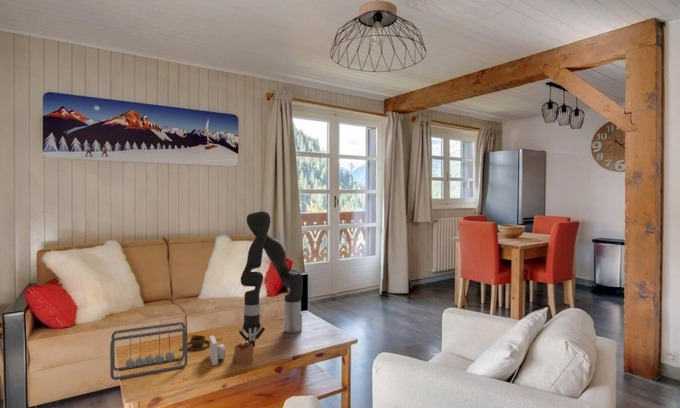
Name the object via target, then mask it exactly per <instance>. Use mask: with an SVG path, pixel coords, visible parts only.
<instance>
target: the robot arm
mask: <svg viewBox="0 0 680 408" xmlns="http://www.w3.org/2000/svg"><path fill="white" fill-rule="evenodd" d="M246 224H247V226H248V229H250V231H251V233H252V234H253V235H254V236H255V237H254V240H253V241H252V243H251V245H250V246H249V249H248V252H247V258H246V259H247V260H246V264H245V267H244V269H243V271H242V273H241V276H240V284H241V285H242V286H243V287H254V288H253V289H252V290H247V291H245V292H244V305H243V306H244V307H243V324H242V328H241V329H239V330H238V333H239V335H240V336H241V337H242V338H243V340H245V341H248V342H247V343H251V344H253V348H255V346H256V340H258V339H260V337H261V336H262V335H263V333H264V331H265V330H266V329H265V327H264V326H262V325H261V323H260V321H261V319H260V318H261V306H260V294H261V290H262V289H261V288H262V285H263V281H264V275H263V273H262V272H261V271H254V270H255V269H259V268H260V267H261V266H262V262H263V261H262V259H263V252H264V251H265V253H266V256H267V257H268V259H269V260H270V263H271V264H272V265H273V268H274V269H275V271H276V273H277V275H278V277H279V279H280V281H281V283H282V285H283V286H284V287H285V288H288V289H289V293H287V294H285V295H284V308H283V309H284V311H283V312H284V317H283V319H284V322H283V323H284V324H283V325H284V326H283V327H284V332H285V333H288V334H296V333H299V332H301V331H303V314H302V313H301V312H302V296H303V289H304V288H303V285H304V278H303V276H302V274H301V273H298V272H295V271H292V270H291V269H290V267H288V265H287V254H286V251H285V248H284V247H283V246H282V244H281V242H280V241H279V240H277V239H276V238H274V237H273V236H271V235H270V234H268V232H269V230H270V226H271V216H270V213H269V212H268V211H266V210H260V211H257V212H252V213H249V214H248V215H247V217H246ZM245 333H246V334H247V336H246V334H245Z"/></svg>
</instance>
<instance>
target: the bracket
mask: <svg viewBox="0 0 680 408" xmlns="http://www.w3.org/2000/svg"><path fill="white" fill-rule="evenodd" d="M254 348H255V347H254ZM254 348H253V344H251V343H248V342H244V343H242V342H240V343H236V344H235V346H234V363H235V364H238V365H246V364H251V363H252V362H253V361H254V351H255V350H254Z"/></svg>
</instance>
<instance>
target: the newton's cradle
mask: <svg viewBox="0 0 680 408" xmlns="http://www.w3.org/2000/svg"><path fill="white" fill-rule="evenodd" d="M177 326H179V328H174V329H170V327H177ZM162 328H167V329H166V330H161V329H162ZM154 329H158V330H157V331H150V330H154ZM146 330H149V332H145V333H137V334H131V333H133V332H142V331H146ZM179 332H182V346H183V347H182V348H183V350H182V355H181V356H180V357H175V354H174V352H173V351H171V341H170V340H171V339H170V337H171V336H170V333H179ZM125 333H129V335H122V336H121V335H120V334H125ZM165 334H168V348H169V351H168V352H167V353H166V354H165V355H164V354H162V353H161V335H165ZM118 335H120V336H118ZM157 335H158V341H159V342H158V344H159V349H158V350H159V351H158V352H159V353H158V354H157V355H156V356H154V355H151V354H149V355H148V356H147V357H143V356H141V353H142V349H141V348H142V346H141V341H142V340H141V338H145V337H152V336H157ZM115 336H116V337H115ZM137 338H139V345H140V346H139V348H140V349H139V351H140V352H139V353H140V354H139V356H140V357H139V356H138V357H137V358H136V359H134V358H131V357H132V351H131V349H132V345H131V344H132V341H131V340H132V339H137ZM123 340H129V347H130V349H129V350H130V355H129V358H128V359H127V360H126V362H125V366H122V367H120V366H119V367H116V364H115V363H116V362H115V361H116V357H115V355H116V354H115V353H116V352H115V349H116V348H115V344H116V343H115V342H117V341H123ZM109 343H110V344H109V345H110V347H109V349H110V350H109V351H110V354H109V355H110V356H109V359H110V360H109V361H110V362H109V363H110V364H109V365H110V367H109V368H110V369H109V370H110V378H111V379H112V380H113V381H117V380H123V379H129V378H134V377H140V376H145V375H152V374H156V373H161V372H168V371H172V370H177V369H183V368H186V366H187V365H188V350H187V343H188V331H187V329H186V325H185V323H184V322H181V321H178V322H172V323H164V324H156V325H149V326H141V327H135V328H127V329H119V330H115V331H113V333H112V334H111V341H110V342H109ZM183 359H184V363H183V364H182V360H183ZM177 361H179V362H180V365H177V366H172V367H171V366H170V367H165V368H161V369H160V368H159V369H154V370H149V371H143V372H137V373H131V374H127V375H121V376H120V375H119V371H123V370H124V371H125V370H129V369H135V368H141V367H146V366H147V367H148V366H151V365H152V366H154V365H158V364H165V363H171V362H177ZM114 371H116V376H115V375H114V374H115V373H114Z"/></svg>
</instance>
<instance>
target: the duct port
mask: <svg viewBox="0 0 680 408" xmlns="http://www.w3.org/2000/svg"><path fill="white" fill-rule="evenodd" d="M209 341H210V349H209V359H210V361H211V364H212V366H217V365H219V361H220V360H222V359H225V358H226V348H225V344H224V343H223V344H218V342H217V339H216V337H215V335H210V336H209Z"/></svg>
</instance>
